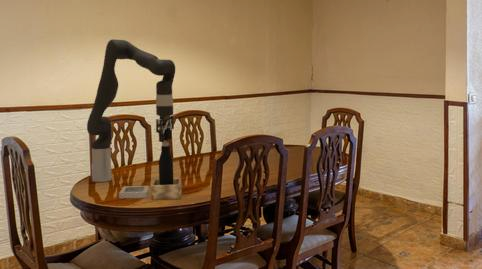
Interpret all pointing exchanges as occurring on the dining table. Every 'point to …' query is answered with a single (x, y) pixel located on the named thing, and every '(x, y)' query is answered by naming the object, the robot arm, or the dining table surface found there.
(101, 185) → the dining table surface
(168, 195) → the crate
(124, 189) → the grey square tray
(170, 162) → the wine bottle
